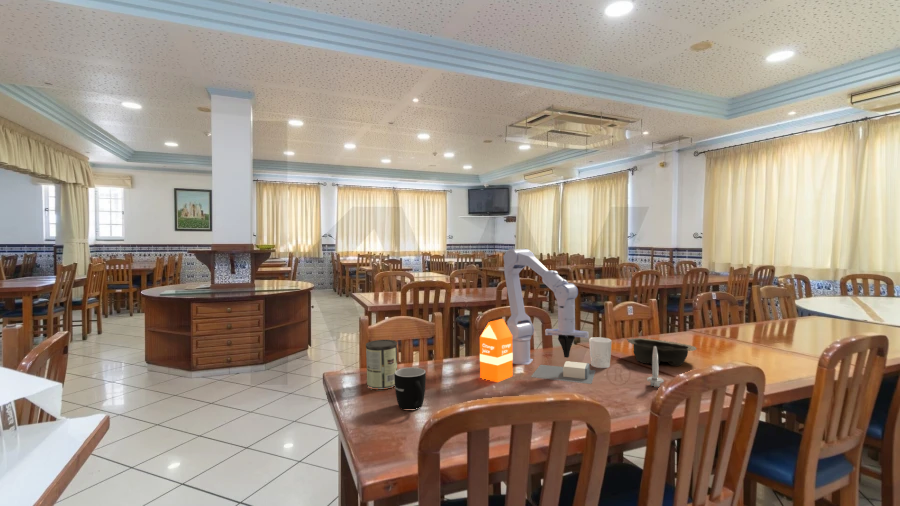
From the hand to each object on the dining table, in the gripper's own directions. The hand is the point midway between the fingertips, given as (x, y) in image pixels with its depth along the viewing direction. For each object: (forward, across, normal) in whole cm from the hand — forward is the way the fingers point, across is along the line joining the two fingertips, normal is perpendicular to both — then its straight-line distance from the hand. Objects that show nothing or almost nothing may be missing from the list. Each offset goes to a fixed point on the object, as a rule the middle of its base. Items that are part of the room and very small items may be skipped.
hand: (566, 356), depth 152 cm
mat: (+6, -1, 0) cm, 6 cm away
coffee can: (+6, -55, -33) cm, 64 cm away
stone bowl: (+7, +31, +31) cm, 44 cm away
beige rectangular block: (+4, -1, 0) cm, 4 cm away
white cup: (+7, +10, +15) cm, 19 cm away
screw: (+7, +28, -2) cm, 29 cm away
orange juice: (+7, -22, -12) cm, 26 cm away
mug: (+6, -36, -47) cm, 59 cm away
